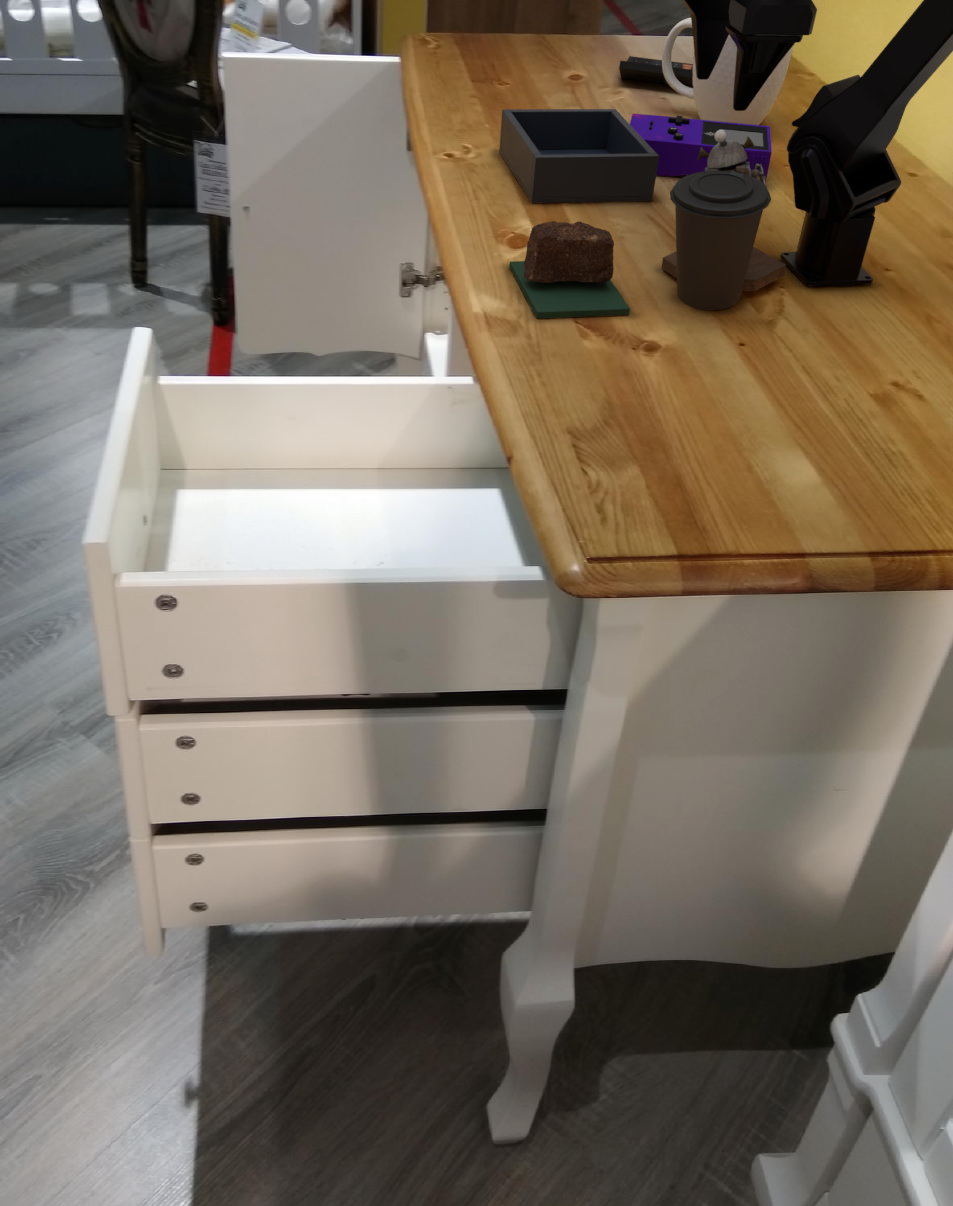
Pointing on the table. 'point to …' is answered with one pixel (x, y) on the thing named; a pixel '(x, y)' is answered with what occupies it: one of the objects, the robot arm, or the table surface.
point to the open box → (577, 155)
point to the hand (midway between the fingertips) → (720, 94)
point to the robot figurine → (734, 159)
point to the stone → (569, 253)
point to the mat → (569, 297)
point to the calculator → (655, 70)
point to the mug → (723, 84)
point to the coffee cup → (715, 235)
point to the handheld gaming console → (697, 142)
